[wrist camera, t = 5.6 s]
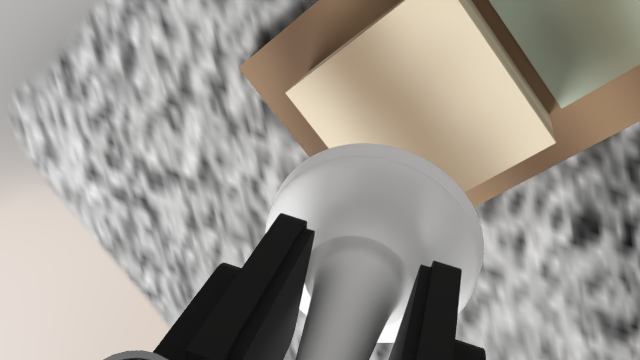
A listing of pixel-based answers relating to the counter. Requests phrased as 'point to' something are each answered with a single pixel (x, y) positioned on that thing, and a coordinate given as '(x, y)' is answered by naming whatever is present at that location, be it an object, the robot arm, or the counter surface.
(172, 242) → the counter surface
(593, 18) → the wooden tray
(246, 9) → the counter surface
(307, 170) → the chess piece
